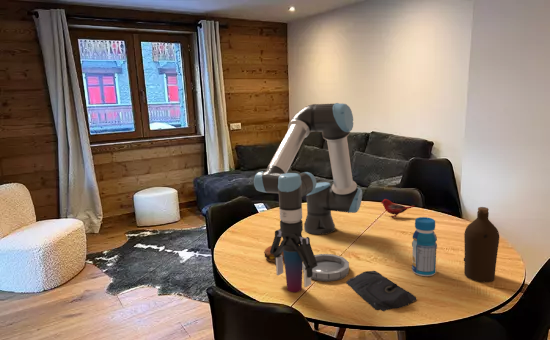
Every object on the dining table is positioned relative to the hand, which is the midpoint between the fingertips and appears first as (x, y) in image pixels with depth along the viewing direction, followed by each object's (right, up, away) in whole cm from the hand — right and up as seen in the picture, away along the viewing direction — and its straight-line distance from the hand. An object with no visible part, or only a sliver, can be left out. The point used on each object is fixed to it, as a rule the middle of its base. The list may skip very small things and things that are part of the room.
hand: (293, 279), depth 130 cm
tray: (+13, 0, +13) cm, 18 cm away
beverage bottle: (+48, 0, +9) cm, 49 cm away
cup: (0, -4, +1) cm, 4 cm away
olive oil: (+66, 0, +4) cm, 66 cm away
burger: (-6, +1, +27) cm, 27 cm away
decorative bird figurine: (+59, +12, +70) cm, 93 cm away
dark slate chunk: (+29, -4, -4) cm, 29 cm away
